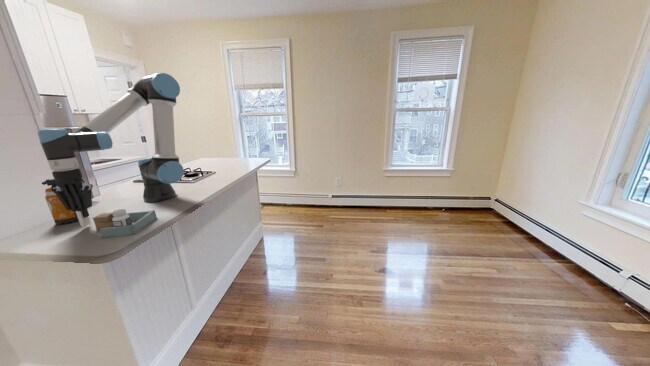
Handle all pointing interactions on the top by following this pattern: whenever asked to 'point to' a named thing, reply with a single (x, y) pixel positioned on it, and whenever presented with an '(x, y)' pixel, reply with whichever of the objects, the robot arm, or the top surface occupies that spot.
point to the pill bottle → (121, 218)
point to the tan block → (103, 220)
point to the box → (142, 218)
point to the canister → (57, 205)
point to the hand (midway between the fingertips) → (85, 224)
